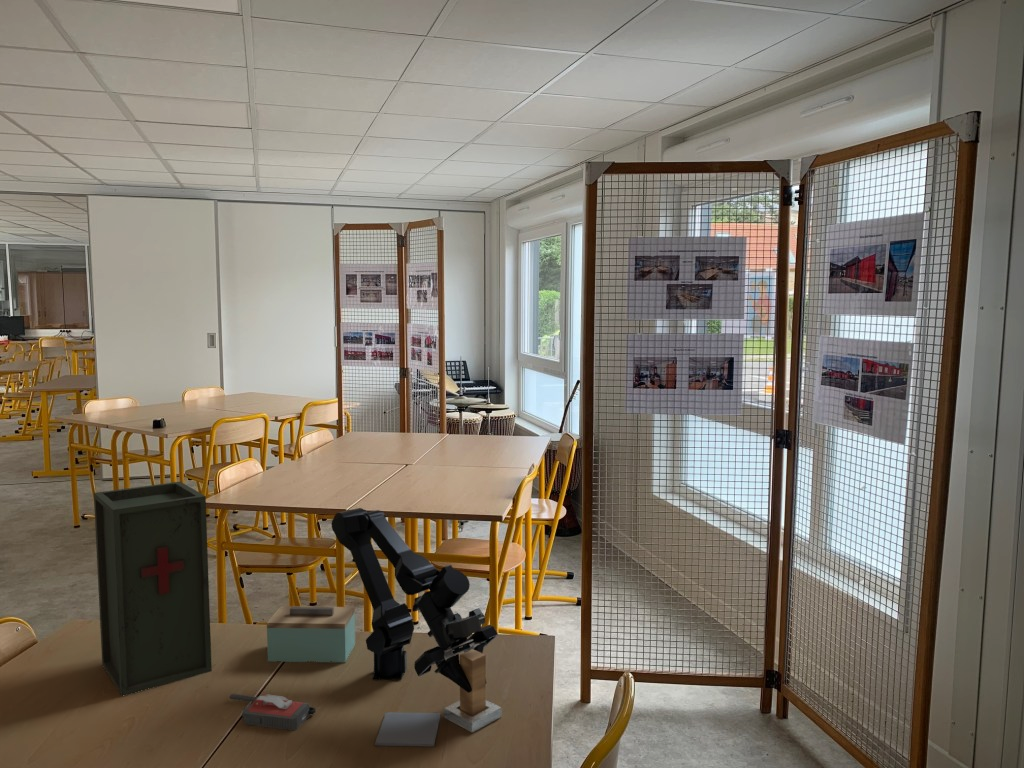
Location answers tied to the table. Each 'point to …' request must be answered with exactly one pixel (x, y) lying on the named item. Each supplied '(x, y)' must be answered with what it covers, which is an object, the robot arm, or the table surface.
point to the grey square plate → (408, 729)
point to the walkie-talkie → (274, 711)
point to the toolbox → (311, 634)
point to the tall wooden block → (473, 682)
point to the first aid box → (153, 584)
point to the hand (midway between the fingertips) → (477, 688)
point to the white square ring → (476, 721)
